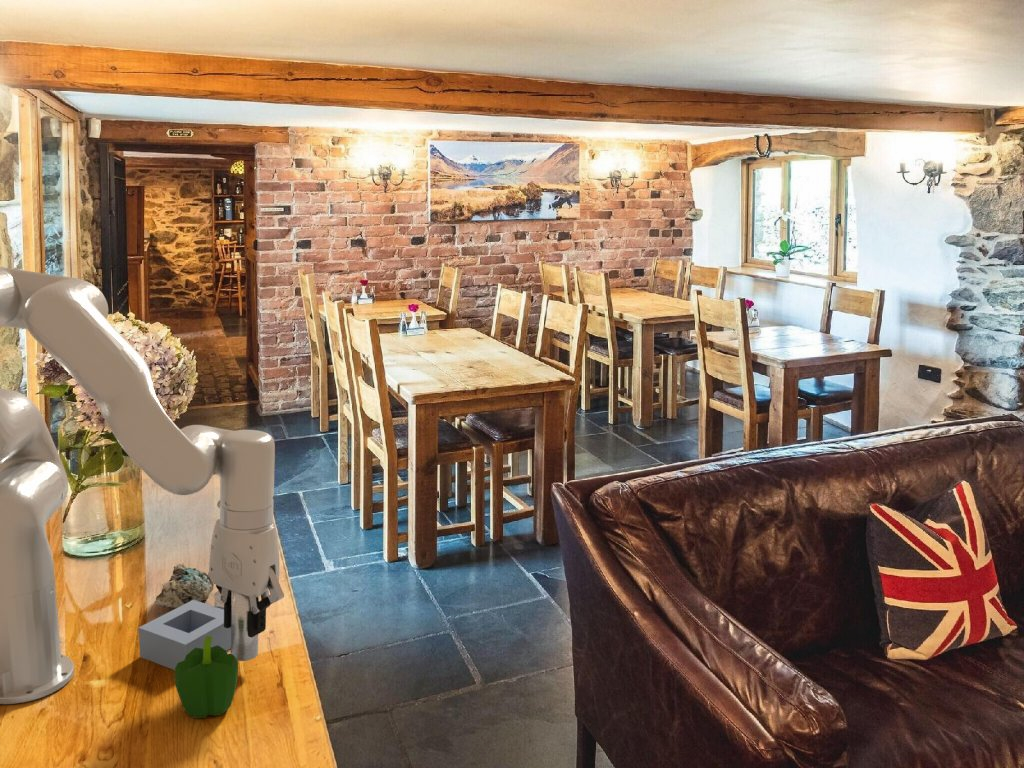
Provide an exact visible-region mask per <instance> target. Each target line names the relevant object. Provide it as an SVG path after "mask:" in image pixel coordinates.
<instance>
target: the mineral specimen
mask: <svg viewBox="0 0 1024 768" xmlns="http://www.w3.org/2000/svg"><path fill="white" fill-rule="evenodd" d="M161 586H162V589H161V592H160V593H159V594H158V595H157V596H156V597H155V600H154V604H155V605H156V606H159V607H161V608H166V607H168V608H171V609H173V608H174V609H176V608H178V607H180V606H182V605H184V604H186V603H188V602H190V601H192V600H196V601H199V602H202V603H203V601H205V602H206V601H207V600H208V599H209V597H210V594H211V593H212V592H213V590H214V587H215V584H214V583H213V582H212V581H211V580H210V577H209V576H208V573H206V572H205V571H200V569H197V568H195V567H193V568H191V567H187V566H186V565H185V563H184V562H178V563H177V564H176V565H175V566H173V570H172V574H171V576H170V578H169V580H168V581H167V582H163V583H162V585H161Z"/></svg>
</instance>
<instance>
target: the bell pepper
mask: <svg viewBox="0 0 1024 768" xmlns="http://www.w3.org/2000/svg"><path fill="white" fill-rule="evenodd" d="M211 642H212V637H211V636H207V637H206V638H205V641H204V647H203V649H202V648H194V649H193V650H192V651H191V652H189V653H188V654H187V655H186V657H185V660H184V661H181V662H179V663H177V666H176V668H175V670H173V672H174V673H173V675H174V685H175V688H176V691H177V694H178V697H179V700H180V702H181V705H182V707H183V709H184V712H185V713H186V714H187V715H188V716H190V717H192V718H195V719H203V718H206V717H208V716H209V715H210V716H219V715H222V714H224V713H225V712H226V711H228V710H229V708H230V707H231V705H232V702H233V700H234V696H235V692H236V688H237V684H238V677H239V661H237V660H236V658H235V656H234V655H232V654H231V653H228V652H227V651H226V650H224V649H223V648H221V647H220V646H218V645H217V646H214V647H211Z"/></svg>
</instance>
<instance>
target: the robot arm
mask: <svg viewBox="0 0 1024 768" xmlns="http://www.w3.org/2000/svg"><path fill="white" fill-rule="evenodd" d="M108 314H109V305H108V301H107V299H106V297H105V295H104V294H103V292H102V291H101V290H100V289H99V288H98V287H97V286H95V284H94V283H93V284H92V283H91V282H89V281H86V280H84V279H81V278H76V277H71V276H63V275H56V274H49V273H43V272H36V271H31V270H30V271H28V270H23V269H17V268H9V267H5V266H0V327H8V328H17V329H24V330H27V331H28V332H29V334H30V335H31V337H32V338H33V339H34V340H35V341H36V342H37V343H38V344H39V345H40V346H41V347H42V348H43V349H44V350H45V351H46V352H47V353H48V354H49V355H50V356H51V357H52V358H53V359H54V360H55V361H56V362H57V363H58V364H59V365H60V366H61V367H62V368H63V369H64V370H65V371H66V372H67V373H68V374H69V375H70V376H71V377H72V378H73V379H74V380H75V381H76V382H77V384H78V385H79V386H80V387H81V388H82V389H83V390H84V391H85V392H86V393H87V394H88V396H90V397H91V398H92V399H93V400H94V402H95V403H96V405H97V407H98V409H99V410H100V413H101V416H102V417H103V419H104V421H105V422H106V424H107V425H108V427H109V429H110V431H111V433H112V434H113V436H114V438H115V439H116V441H117V443H118V444H119V445H120V447H121V448H122V450H123V451H124V452H125V453H126V455H128V457H129V458H130V459H131V460H132V461H133V463H135V464H136V465H137V466H138V467H139V469H141V470H142V472H144V473H145V475H147V476H148V477H149V478H150V479H151V480H152V482H154V483H156V484H157V486H159V487H160V488H162V490H164V491H167V492H168V493H172V494H173V495H179V496H188V495H193V494H196V493H198V492H200V491H202V490H203V489H205V487H206V486H207V485H208V483H210V481H211V479H212V477H213V476H215V475H216V476H217V475H218V476H219V478H220V479H219V482H220V483H219V484H220V485H219V489H220V490H219V497H220V498H219V500H218V502H217V508H218V509H219V518H218V519H216V521H215V524H214V528H213V531H212V532H213V533H212V537H211V542H210V551H209V565H208V566H209V567H208V573H207V574H208V576H209V577H210V580H211V581H212V582H213V583H214V585H215V587H216V589H217V591H219V592H220V594H221V597H220V599H221V601H222V602H223V603H225V604H224V627H225V628H230V627H231V591H234V592H237V593H239V594H242V595H245V596H248V597H250V604H251V611H250V612H249V613H248V636H249V637H251V638H252V637H254V636H256V635H258V636H259V634H261V633H263V632H265V630H266V626H267V625H266V624H267V608H270V607H271V605H272V604H274V603H277V602H279V601H280V600H282V599H284V598H285V593H284V591H283V588H282V587H281V584H280V573H281V572H280V564H281V563H280V548H279V539H278V533H277V529H276V528H277V527H276V525H275V524H274V497H275V496H274V493H275V491H274V489H275V464H276V463H275V461H276V455H275V454H276V453H275V452H276V447H275V446H276V445H275V444H276V443H275V440H274V437H273V436H272V435H271V434H269V433H267V432H265V431H261V430H258V429H238V430H231V429H225V428H220V427H219V428H218V427H214V426H210V425H209V426H208V425H204V424H191V425H186V426H184V427H182V428H180V427H178V426H177V425H176V424H175V422H174V421H173V420H172V419H171V418H170V416H168V414H167V413H166V411H165V410H164V408H163V406H162V405H161V403H160V401H159V399H158V397H157V395H156V394H157V393H156V392H155V389H154V384H153V383H154V382H153V377H152V373H151V370H150V367H149V364H148V363H147V361H146V359H145V358H144V357H143V356H142V355H141V354H140V353H139V352H138V351H137V349H135V348H134V346H133V345H132V344H131V343H130V342H129V341H127V339H126V338H125V337H124V336H123V335H122V334H121V333H120V332H119V331H118V330H117V329H116V328H115V327H114V326H113V324H111V322H110V321H109V320H108V316H109V315H108ZM68 492H69V480H68V475H67V472H66V469H65V467H64V464H63V461H62V459H61V457H60V455H59V452H58V449H57V447H56V445H55V442H54V440H53V437H52V435H51V433H50V430H49V428H48V426H47V423H46V421H45V419H44V416H43V414H42V413H41V411H40V409H39V408H38V407H37V406H36V404H35V403H34V402H33V401H32V400H31V399H30V398H29V397H28V396H26V395H25V394H23V393H21V392H19V391H16V390H12V389H7V388H5V389H3V388H0V705H14V704H21V703H22V704H23V703H26V702H27V703H28V702H31V701H32V702H33V701H36V700H39V699H41V698H44V697H47V696H49V695H51V694H53V693H54V692H56V691H59V690H60V689H62V688H63V687H64V686H66V684H68V683H69V682H70V680H71V679H72V678H73V676H74V673H75V664H74V662H73V660H72V659H71V658H70V657H68V656H67V655H64V654H62V650H61V639H60V638H61V637H60V625H59V614H58V613H59V612H58V611H59V610H58V601H57V589H56V577H55V575H56V574H55V567H54V559H53V558H54V557H53V553H52V552H53V551H52V549H51V546H50V542H49V539H48V537H47V533H46V532H47V531H46V525H47V523H48V521H49V520H50V519H51V518H52V517H53V516H54V514H55V513H56V512H57V511H58V510H59V509H60V507H61V506H62V505H63V504H64V502H65V500H66V497H67V495H68ZM258 597H259V599H258Z"/></svg>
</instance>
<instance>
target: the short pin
mask: <svg viewBox="0 0 1024 768" xmlns="http://www.w3.org/2000/svg"><path fill="white" fill-rule="evenodd" d="M213 596H214V598H213V599H214V607H217V608H220V609H223V610H224V604H225V603H223V602H222V601H221V599H220V597H221V594H220V592H219V591H218V590H216V591H215V593H214V595H213Z"/></svg>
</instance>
